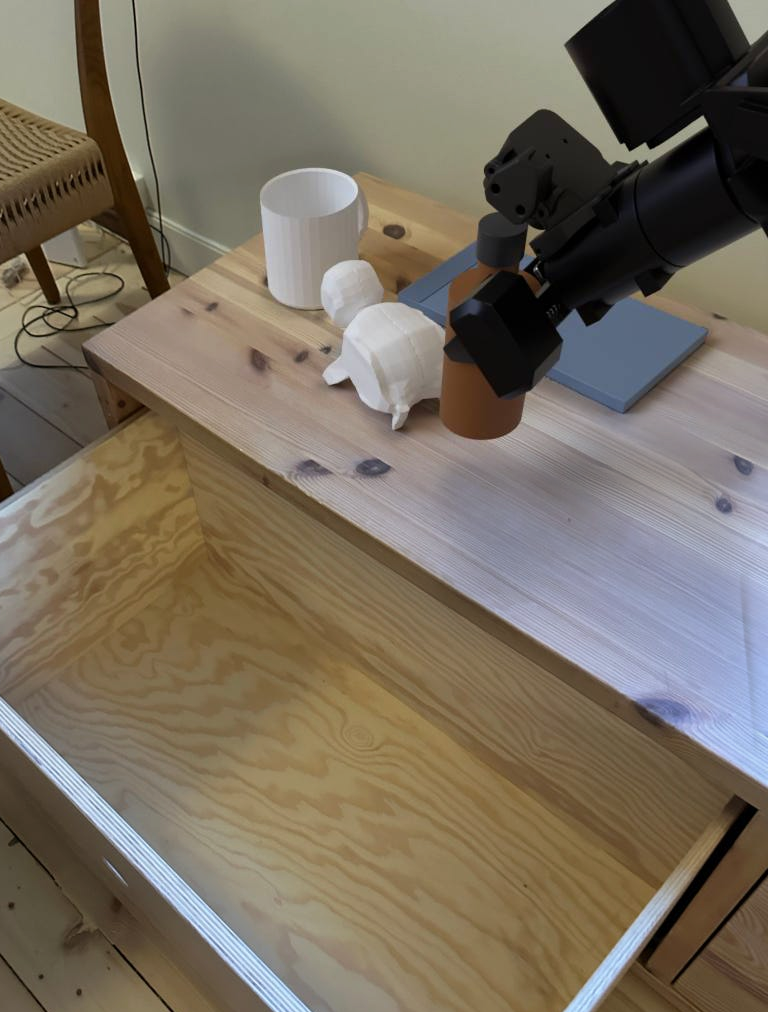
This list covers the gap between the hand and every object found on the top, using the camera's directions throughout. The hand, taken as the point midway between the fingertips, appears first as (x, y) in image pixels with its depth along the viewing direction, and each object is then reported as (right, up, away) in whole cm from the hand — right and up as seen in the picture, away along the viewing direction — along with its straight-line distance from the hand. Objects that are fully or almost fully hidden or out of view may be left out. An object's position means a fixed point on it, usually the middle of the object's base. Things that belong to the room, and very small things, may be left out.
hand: (472, 329), depth 62 cm
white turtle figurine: (-4, +2, +19) cm, 19 cm away
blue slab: (+11, +8, +22) cm, 26 cm away
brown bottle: (+2, -5, +5) cm, 7 cm away
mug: (-9, +15, +29) cm, 34 cm away
